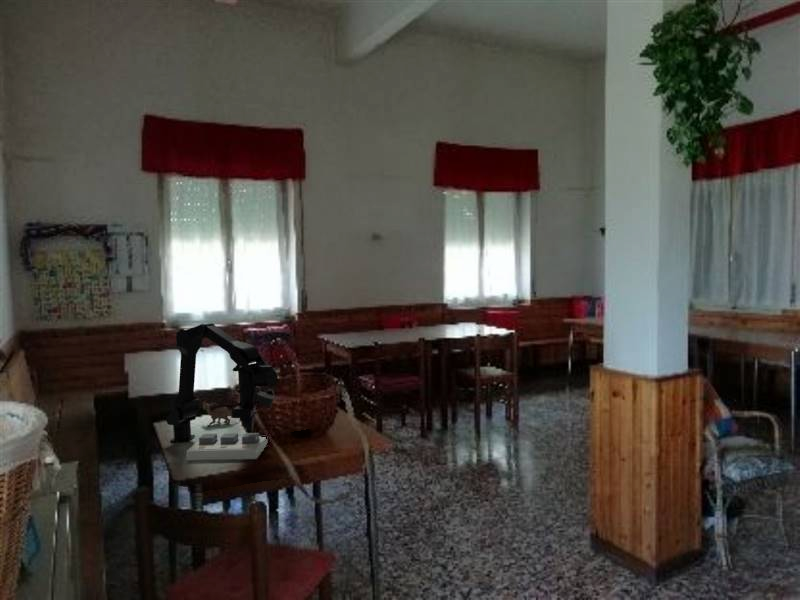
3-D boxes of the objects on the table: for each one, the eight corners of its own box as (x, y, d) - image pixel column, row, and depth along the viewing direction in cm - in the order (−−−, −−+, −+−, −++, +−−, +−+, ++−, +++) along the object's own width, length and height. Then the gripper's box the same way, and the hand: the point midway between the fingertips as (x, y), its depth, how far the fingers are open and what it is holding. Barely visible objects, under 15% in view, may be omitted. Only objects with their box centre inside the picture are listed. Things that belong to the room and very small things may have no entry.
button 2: (246, 440, 200) (245, 433, 200) (259, 440, 200) (259, 432, 200) (242, 444, 196) (241, 437, 195) (255, 444, 195) (255, 436, 195)
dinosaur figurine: (199, 427, 228) (198, 402, 227) (203, 422, 233) (202, 399, 233) (237, 425, 229) (235, 400, 228) (239, 420, 234) (238, 397, 234)
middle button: (225, 441, 200) (224, 433, 200) (238, 440, 200) (237, 433, 200) (220, 445, 196) (220, 437, 196) (234, 444, 196) (233, 437, 196)
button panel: (202, 446, 204) (202, 436, 204) (267, 444, 203) (267, 434, 203) (186, 460, 190) (186, 449, 190) (256, 458, 189) (256, 448, 189)
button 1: (204, 441, 200) (203, 434, 200) (217, 441, 200) (216, 433, 200) (199, 445, 196) (198, 438, 196) (212, 445, 196) (212, 437, 196)
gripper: (265, 391, 187) (267, 440, 188) (279, 378, 205) (281, 423, 207) (229, 391, 187) (232, 441, 188) (246, 379, 206) (248, 424, 207)
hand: (250, 432), depth 198 cm, fingers closed
